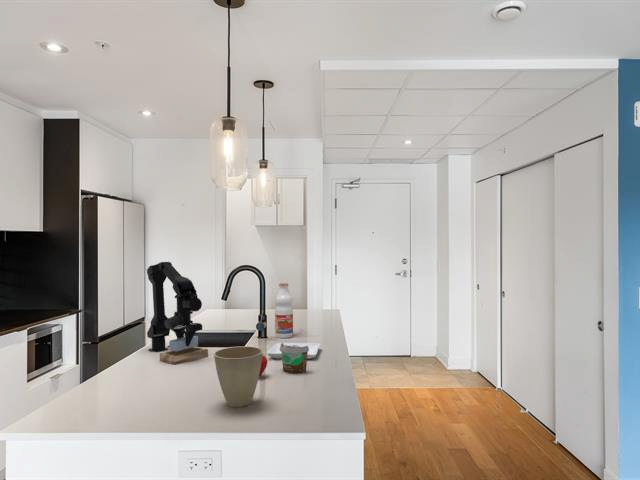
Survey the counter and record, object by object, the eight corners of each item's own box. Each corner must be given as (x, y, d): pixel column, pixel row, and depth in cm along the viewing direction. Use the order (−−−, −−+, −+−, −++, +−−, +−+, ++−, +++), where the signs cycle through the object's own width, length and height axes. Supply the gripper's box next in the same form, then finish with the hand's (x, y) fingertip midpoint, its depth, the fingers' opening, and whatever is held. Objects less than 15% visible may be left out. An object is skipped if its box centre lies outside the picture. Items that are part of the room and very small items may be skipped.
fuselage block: (190, 344, 204) (190, 335, 204) (198, 345, 202) (198, 336, 202) (169, 350, 194) (169, 340, 194) (177, 351, 191) (176, 341, 191)
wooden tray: (159, 361, 194) (159, 353, 194) (193, 353, 208) (193, 346, 208) (174, 364, 188) (174, 357, 188) (208, 356, 201) (207, 349, 201)
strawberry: (269, 374, 173) (269, 347, 173) (264, 380, 165) (264, 352, 165) (254, 373, 173) (254, 347, 173) (248, 379, 166) (248, 352, 166)
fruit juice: (288, 334, 247) (288, 282, 247) (296, 337, 239) (295, 283, 239) (272, 336, 243) (271, 283, 243) (279, 339, 234) (278, 284, 235)
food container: (273, 372, 176) (273, 345, 176) (282, 368, 181) (281, 342, 181) (301, 376, 170) (301, 349, 170) (309, 371, 175) (309, 345, 175)
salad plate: (321, 349, 212) (321, 342, 212) (316, 362, 191) (316, 353, 191) (276, 349, 214) (276, 342, 214) (266, 361, 193) (266, 353, 193)
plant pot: (211, 398, 146) (210, 348, 146) (257, 392, 152) (256, 344, 152) (218, 415, 132) (217, 360, 132) (268, 408, 138) (267, 354, 138)
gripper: (154, 309, 197) (155, 346, 197) (180, 313, 186) (180, 352, 186) (177, 306, 206) (177, 341, 206) (203, 310, 194) (203, 347, 194)
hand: (184, 345), depth 198 cm, fingers closed on fuselage block, 5 cm apart
